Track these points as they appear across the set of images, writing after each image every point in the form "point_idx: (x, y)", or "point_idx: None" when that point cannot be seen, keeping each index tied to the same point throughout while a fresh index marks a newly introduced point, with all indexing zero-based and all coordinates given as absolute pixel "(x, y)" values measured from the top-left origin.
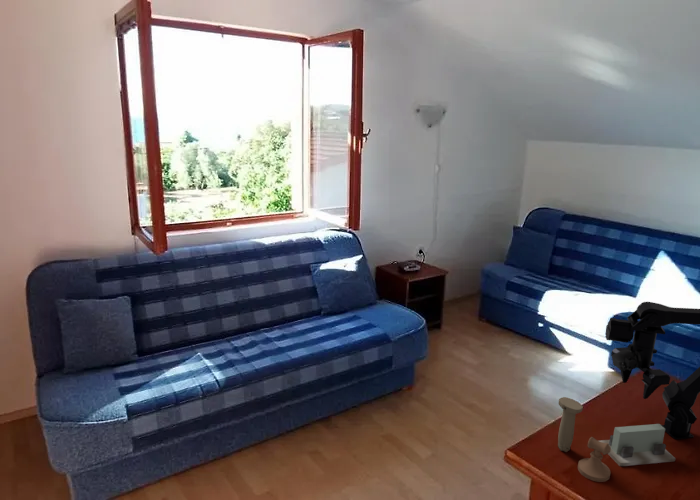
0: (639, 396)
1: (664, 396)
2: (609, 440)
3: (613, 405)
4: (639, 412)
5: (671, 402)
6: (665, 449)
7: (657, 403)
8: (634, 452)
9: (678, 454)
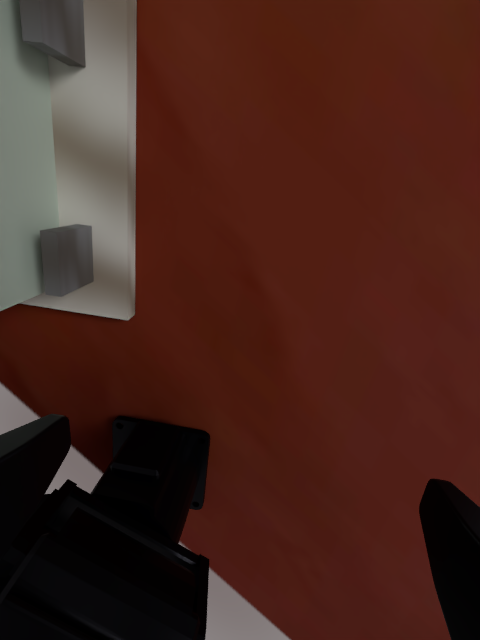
0: None
1: (147, 603)
2: (120, 24)
3: (447, 370)
4: (337, 441)
5: (15, 574)
6: (25, 303)
7: (367, 561)
8: None
9: (24, 345)
